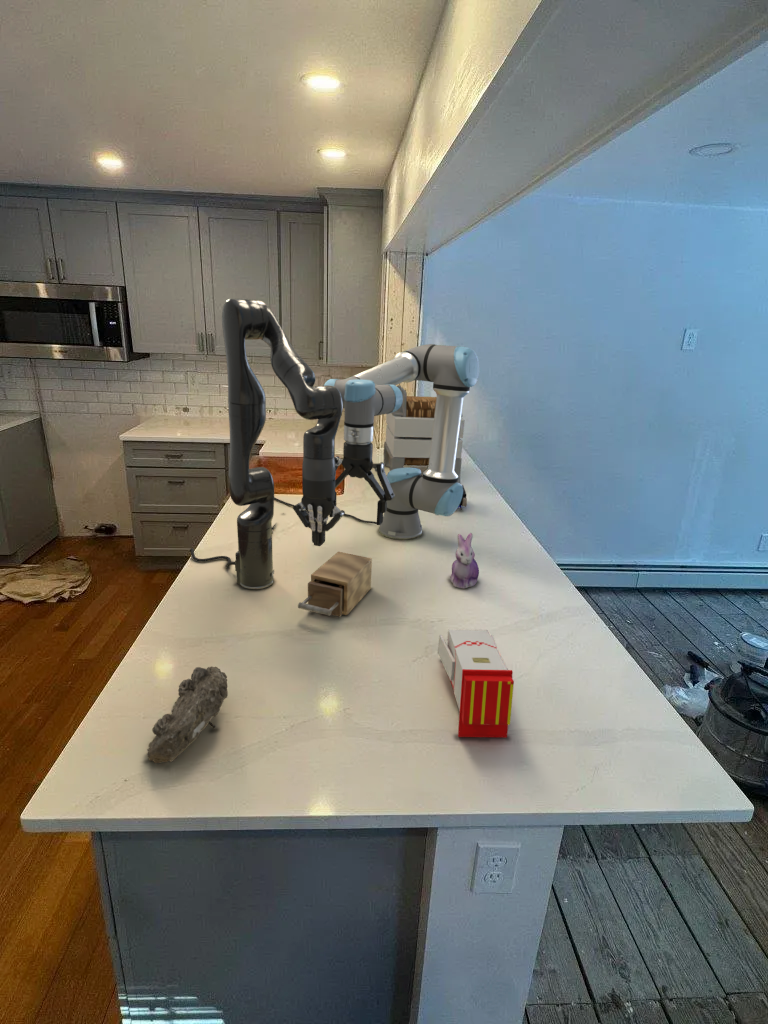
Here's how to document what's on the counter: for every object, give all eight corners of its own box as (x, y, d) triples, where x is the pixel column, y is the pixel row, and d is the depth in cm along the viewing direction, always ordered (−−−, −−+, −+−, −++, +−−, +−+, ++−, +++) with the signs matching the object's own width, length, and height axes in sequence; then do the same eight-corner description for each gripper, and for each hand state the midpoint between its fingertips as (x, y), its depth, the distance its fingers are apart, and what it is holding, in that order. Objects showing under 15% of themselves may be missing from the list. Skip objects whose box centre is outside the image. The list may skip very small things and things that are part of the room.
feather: (284, 516, 214) (286, 512, 213) (265, 543, 187) (268, 538, 187) (280, 514, 214) (282, 510, 213) (260, 540, 187) (263, 535, 187)
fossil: (176, 667, 115) (228, 635, 110) (209, 698, 118) (262, 668, 113) (121, 756, 95) (182, 722, 90) (163, 791, 98) (223, 759, 93)
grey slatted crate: (382, 463, 289) (386, 382, 275) (445, 464, 293) (451, 384, 279) (390, 482, 257) (394, 392, 243) (460, 483, 261) (468, 394, 247)
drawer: (330, 627, 138) (330, 600, 135) (296, 619, 141) (296, 592, 138) (363, 591, 156) (364, 566, 154) (333, 584, 159) (333, 560, 157)
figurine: (460, 592, 160) (465, 543, 155) (441, 577, 168) (445, 530, 163) (487, 586, 164) (493, 538, 159) (467, 572, 173) (472, 526, 168)
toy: (488, 613, 130) (523, 677, 101) (484, 667, 133) (517, 744, 104) (435, 612, 130) (455, 676, 101) (432, 666, 133) (451, 743, 103)
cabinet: (346, 615, 146) (347, 582, 142) (310, 607, 149) (310, 574, 146) (370, 588, 160) (372, 558, 157) (337, 581, 163) (338, 551, 160)
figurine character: (467, 515, 225) (461, 499, 238) (469, 498, 221) (463, 482, 235) (450, 514, 224) (445, 498, 238) (452, 497, 221) (447, 482, 234)
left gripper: (285, 475, 128) (286, 545, 134) (338, 483, 124) (336, 555, 130) (301, 467, 135) (301, 534, 141) (352, 475, 130) (350, 544, 136)
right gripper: (307, 439, 145) (307, 516, 153) (399, 450, 138) (395, 531, 145) (320, 433, 152) (320, 508, 159) (409, 444, 145) (404, 522, 152)
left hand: (318, 544), depth 135 cm, fingers closed
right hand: (355, 519), depth 152 cm, fingers open, 13 cm apart
